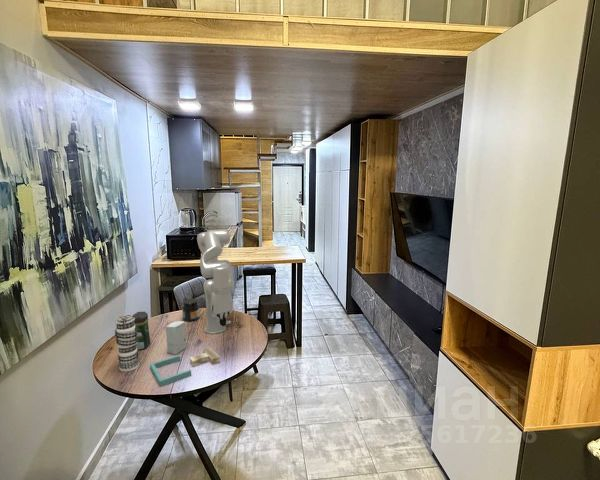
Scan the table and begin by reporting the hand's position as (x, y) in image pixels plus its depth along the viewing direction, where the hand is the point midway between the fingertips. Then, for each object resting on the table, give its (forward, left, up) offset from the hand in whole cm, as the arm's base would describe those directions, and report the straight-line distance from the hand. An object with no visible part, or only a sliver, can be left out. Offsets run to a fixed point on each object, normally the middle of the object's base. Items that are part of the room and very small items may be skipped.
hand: (223, 325), depth 162 cm
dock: (+26, 0, -16) cm, 31 cm away
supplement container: (-2, -55, -16) cm, 58 cm away
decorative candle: (+41, -17, -16) cm, 47 cm away
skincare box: (+18, -19, -16) cm, 31 cm away
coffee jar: (+32, -35, -16) cm, 50 cm away
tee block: (+11, 0, -16) cm, 19 cm away
